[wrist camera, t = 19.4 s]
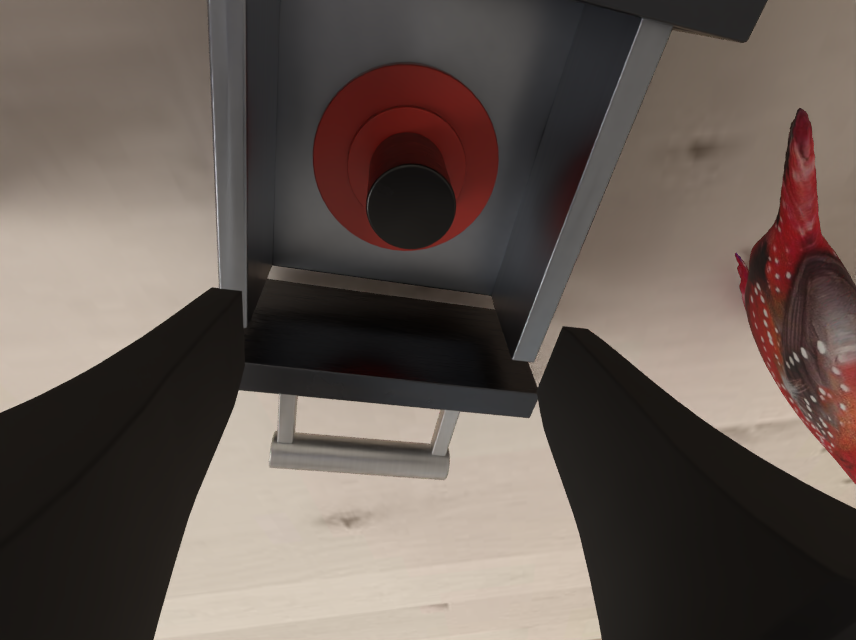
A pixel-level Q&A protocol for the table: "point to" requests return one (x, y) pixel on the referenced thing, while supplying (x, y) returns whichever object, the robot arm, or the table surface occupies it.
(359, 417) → the table surface
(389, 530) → the table surface
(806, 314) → the decorative bird figurine
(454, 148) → the lid
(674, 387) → the table surface
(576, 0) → the small drawer cabinet
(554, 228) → the pull-out tray box
